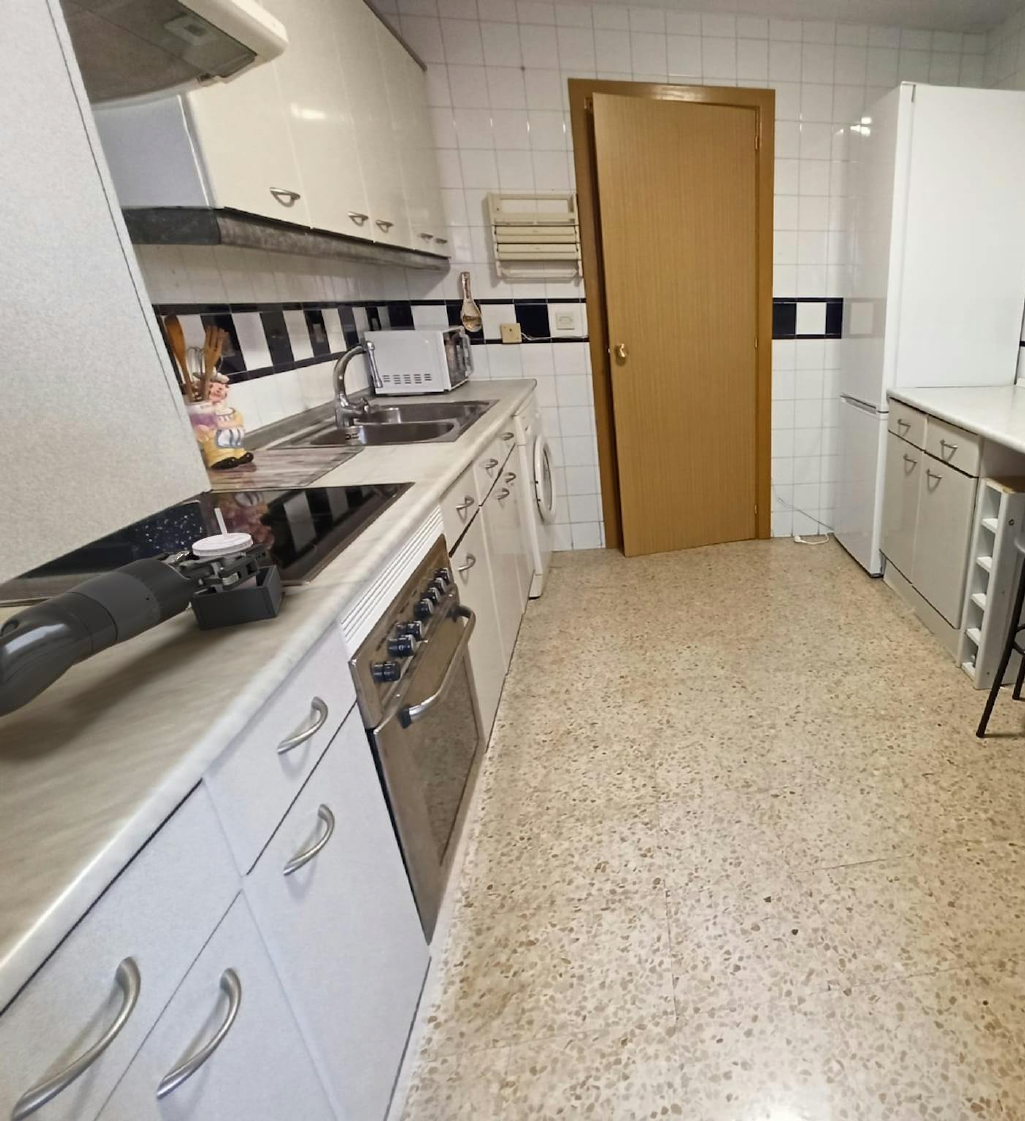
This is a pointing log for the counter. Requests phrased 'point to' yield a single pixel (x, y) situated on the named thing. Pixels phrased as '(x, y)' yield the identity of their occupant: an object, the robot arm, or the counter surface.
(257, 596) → the open box
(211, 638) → the counter surface
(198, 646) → the counter surface
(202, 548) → the smoothie
